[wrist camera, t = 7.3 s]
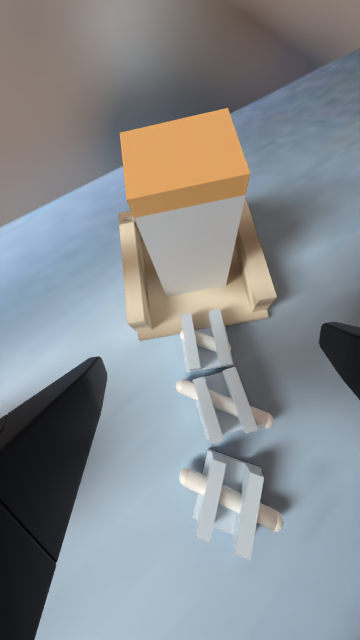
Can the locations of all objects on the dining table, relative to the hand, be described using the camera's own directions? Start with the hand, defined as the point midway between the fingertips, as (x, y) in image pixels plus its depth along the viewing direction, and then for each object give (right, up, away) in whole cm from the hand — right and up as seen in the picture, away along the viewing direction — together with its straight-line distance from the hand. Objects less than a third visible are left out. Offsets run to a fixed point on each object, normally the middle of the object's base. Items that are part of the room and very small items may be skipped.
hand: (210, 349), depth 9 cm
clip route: (+2, -5, +7) cm, 9 cm away
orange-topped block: (0, +5, +10) cm, 11 cm away
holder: (0, +5, +10) cm, 12 cm away
